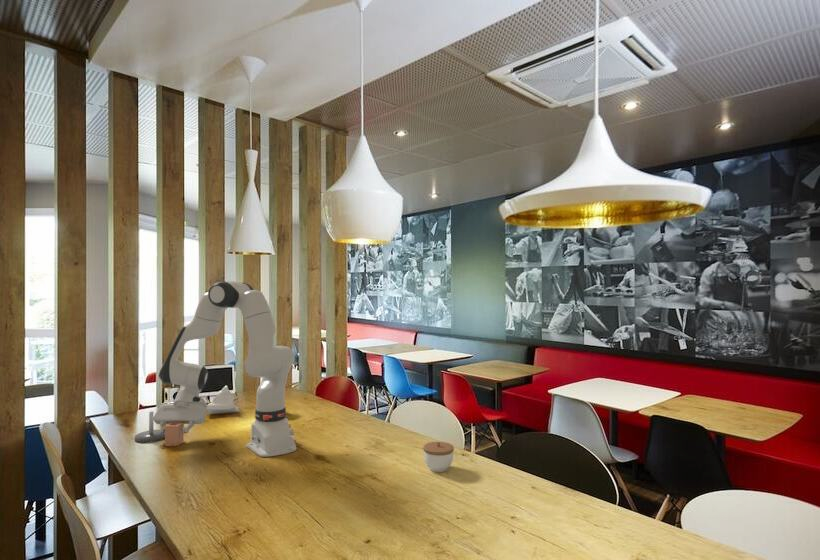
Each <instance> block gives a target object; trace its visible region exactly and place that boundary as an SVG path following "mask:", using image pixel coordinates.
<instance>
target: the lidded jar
mask: <svg viewBox="0 0 820 560" xmlns="http://www.w3.org/2000/svg"><path fill="white" fill-rule="evenodd" d="M454 451H455V449H454V446H453V444H451V443H449V442H446V441H445V442H444V441H431V442H430V441H429V442H427V443H425V444H424V445H423V459H424V462H425V464H426V466H427V467H428V468H429V470H430V471H432V472H434V473H443V472H446V471H447V470H448V469H449V468H450V466H451V465H452V462H453V459H454Z"/></svg>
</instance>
